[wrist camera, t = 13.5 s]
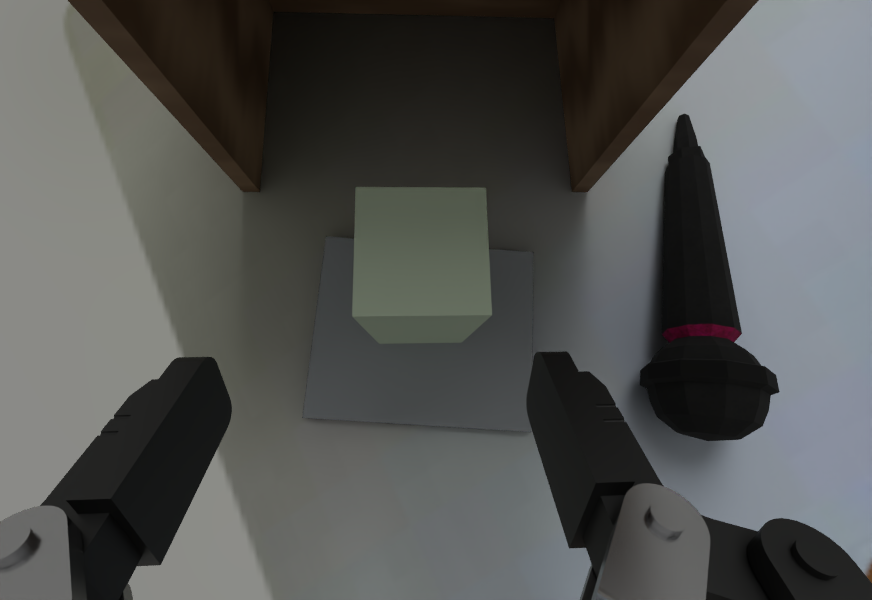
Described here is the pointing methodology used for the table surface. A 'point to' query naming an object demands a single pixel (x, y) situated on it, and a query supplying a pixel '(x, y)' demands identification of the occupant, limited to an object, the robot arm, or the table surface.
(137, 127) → the table surface
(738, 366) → the microphone
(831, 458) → the table surface
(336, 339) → the slate mat
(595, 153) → the walnut cubby
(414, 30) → the table surface
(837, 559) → the robot arm
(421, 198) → the sage block
